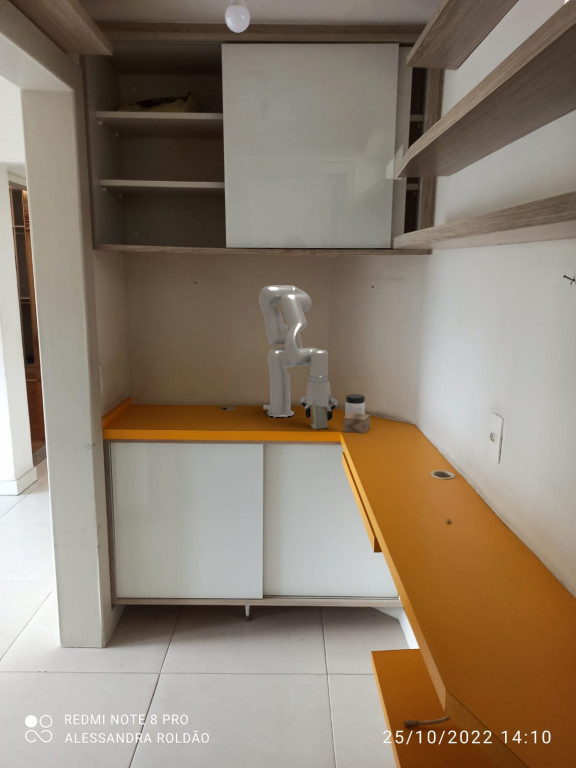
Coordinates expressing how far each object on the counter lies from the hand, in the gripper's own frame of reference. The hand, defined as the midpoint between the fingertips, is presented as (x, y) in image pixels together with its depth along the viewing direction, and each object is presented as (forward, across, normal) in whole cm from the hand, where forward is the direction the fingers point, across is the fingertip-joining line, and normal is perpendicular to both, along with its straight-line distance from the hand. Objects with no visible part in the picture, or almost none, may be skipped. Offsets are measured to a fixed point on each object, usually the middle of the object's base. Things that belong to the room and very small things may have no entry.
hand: (318, 418), depth 234 cm
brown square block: (+4, +16, +3) cm, 17 cm away
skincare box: (+4, 0, 0) cm, 4 cm away
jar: (+4, +12, +14) cm, 19 cm away
